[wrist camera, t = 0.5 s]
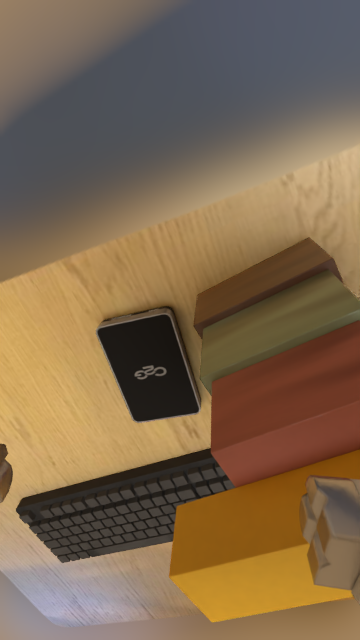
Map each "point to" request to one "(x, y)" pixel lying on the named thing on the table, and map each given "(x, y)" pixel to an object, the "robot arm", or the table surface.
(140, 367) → the external hard drive
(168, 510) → the keyboard
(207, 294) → the tower
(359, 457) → the bar
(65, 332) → the table surface
